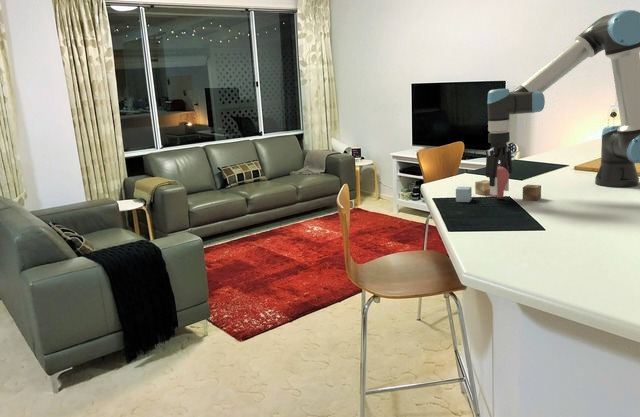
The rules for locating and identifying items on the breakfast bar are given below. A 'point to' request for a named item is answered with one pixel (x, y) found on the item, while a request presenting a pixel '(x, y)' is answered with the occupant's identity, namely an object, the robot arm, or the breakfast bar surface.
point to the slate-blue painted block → (463, 194)
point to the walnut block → (532, 192)
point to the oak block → (482, 187)
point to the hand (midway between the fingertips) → (499, 192)
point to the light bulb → (501, 181)
